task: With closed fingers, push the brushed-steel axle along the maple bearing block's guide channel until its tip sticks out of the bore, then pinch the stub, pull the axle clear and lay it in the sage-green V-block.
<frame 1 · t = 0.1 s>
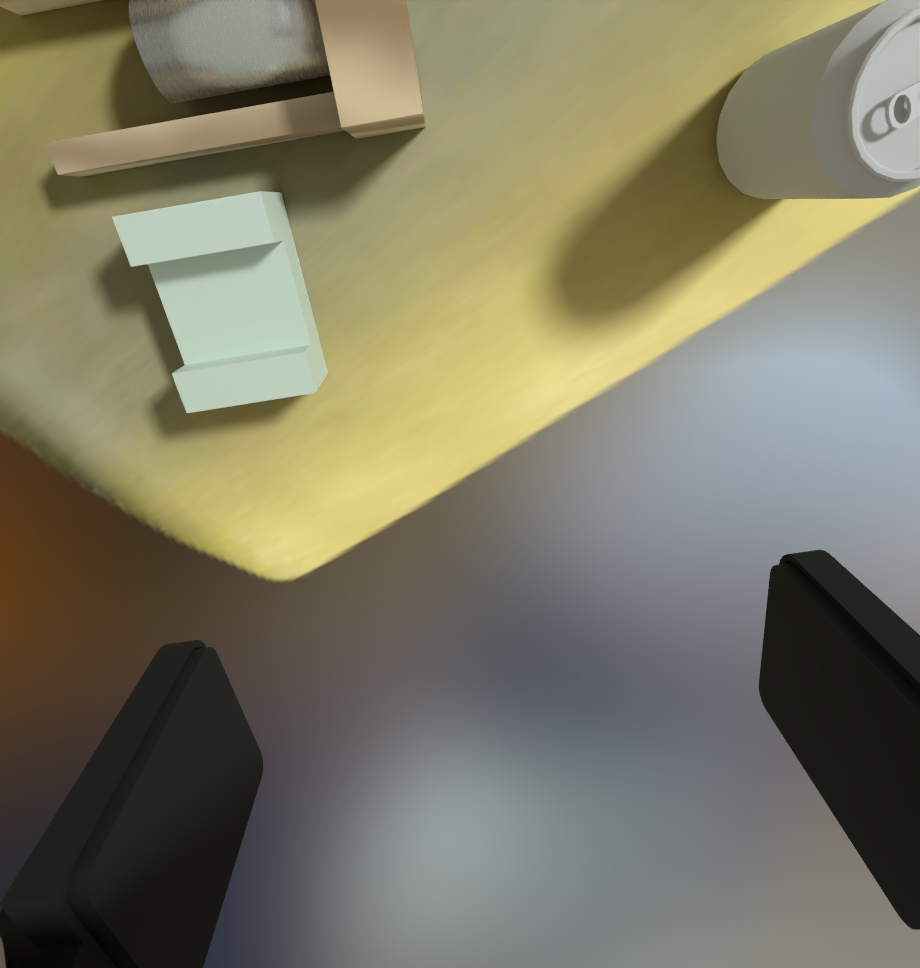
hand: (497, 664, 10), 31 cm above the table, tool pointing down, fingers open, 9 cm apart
axle: (281, 42, 31), on the table
can: (772, 128, 34), on the table
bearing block: (226, 51, 31), on the table
v block: (244, 298, 37), on the table
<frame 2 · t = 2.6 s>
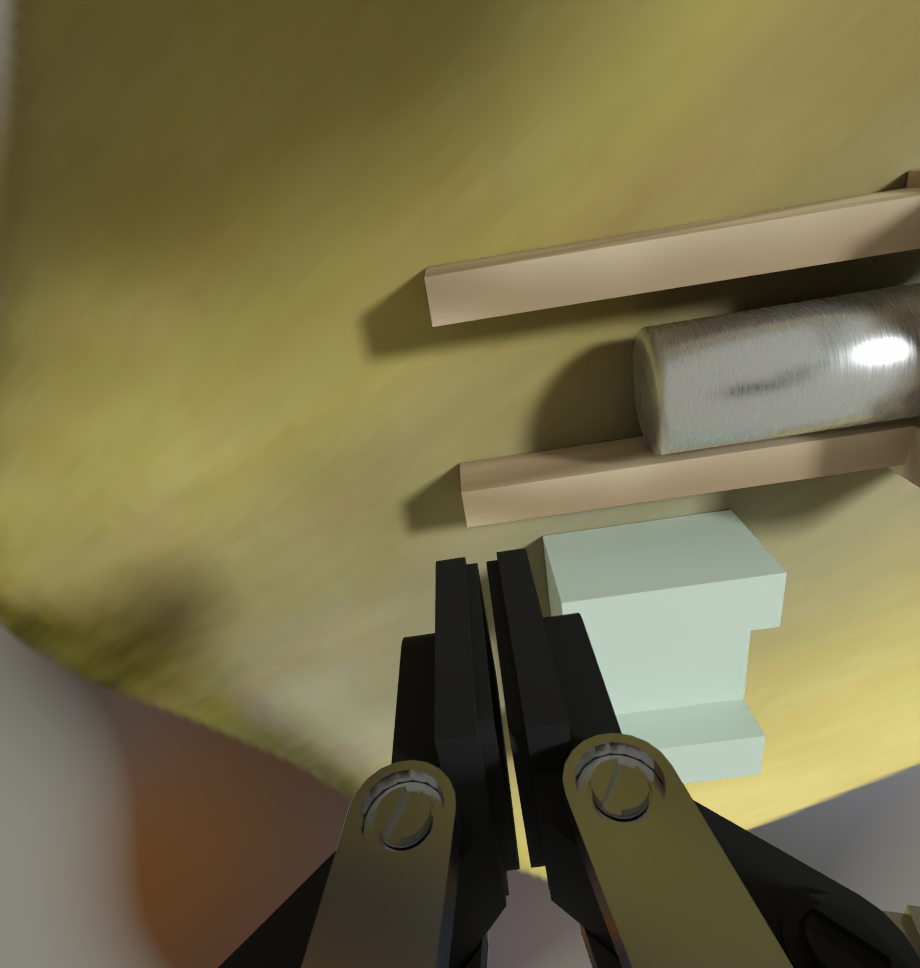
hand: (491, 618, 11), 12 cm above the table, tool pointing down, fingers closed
axle: (794, 337, 21), on the table, tilted 11°
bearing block: (715, 350, 21), on the table
v block: (637, 622, 27), on the table
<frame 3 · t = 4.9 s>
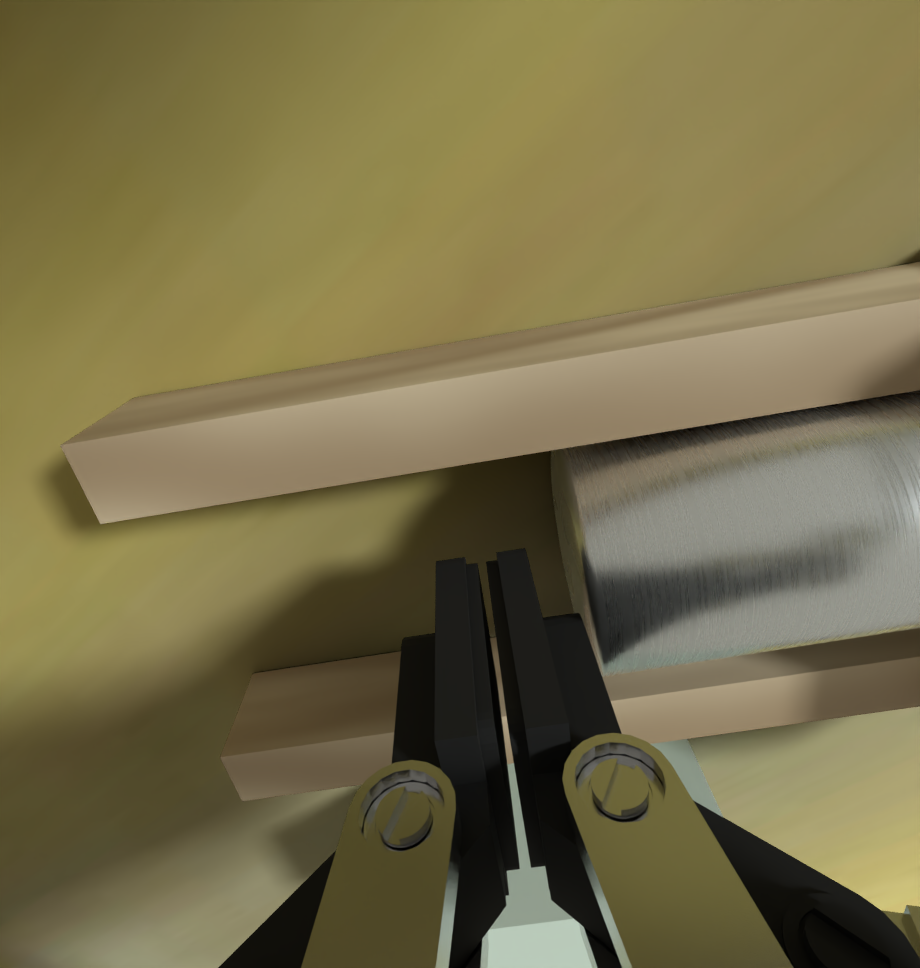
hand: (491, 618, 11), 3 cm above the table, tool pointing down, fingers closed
axle: (824, 487, 13), on the table, tilted 18°, touching gripper
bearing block: (636, 512, 13), on the table
v block: (555, 858, 19), on the table
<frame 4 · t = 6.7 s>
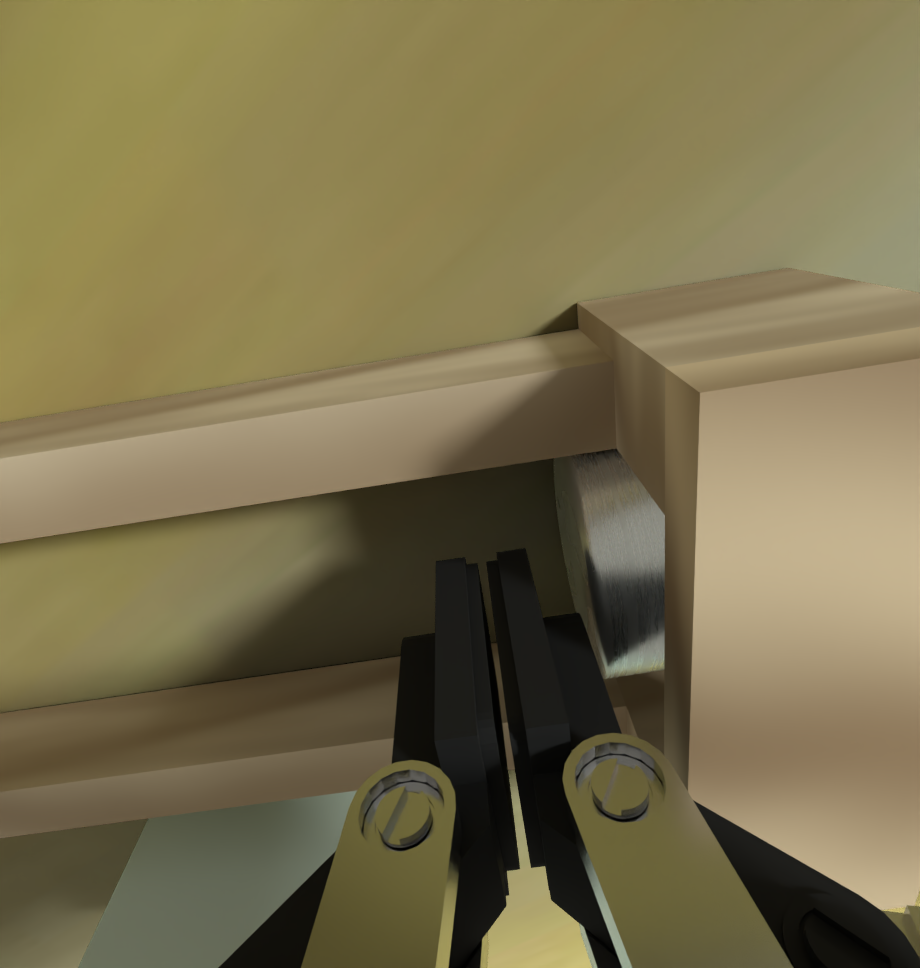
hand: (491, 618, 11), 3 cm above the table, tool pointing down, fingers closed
axle: (827, 487, 13), on the table, tilted 18°, touching gripper
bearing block: (333, 564, 13), on the table
v block: (338, 891, 19), on the table
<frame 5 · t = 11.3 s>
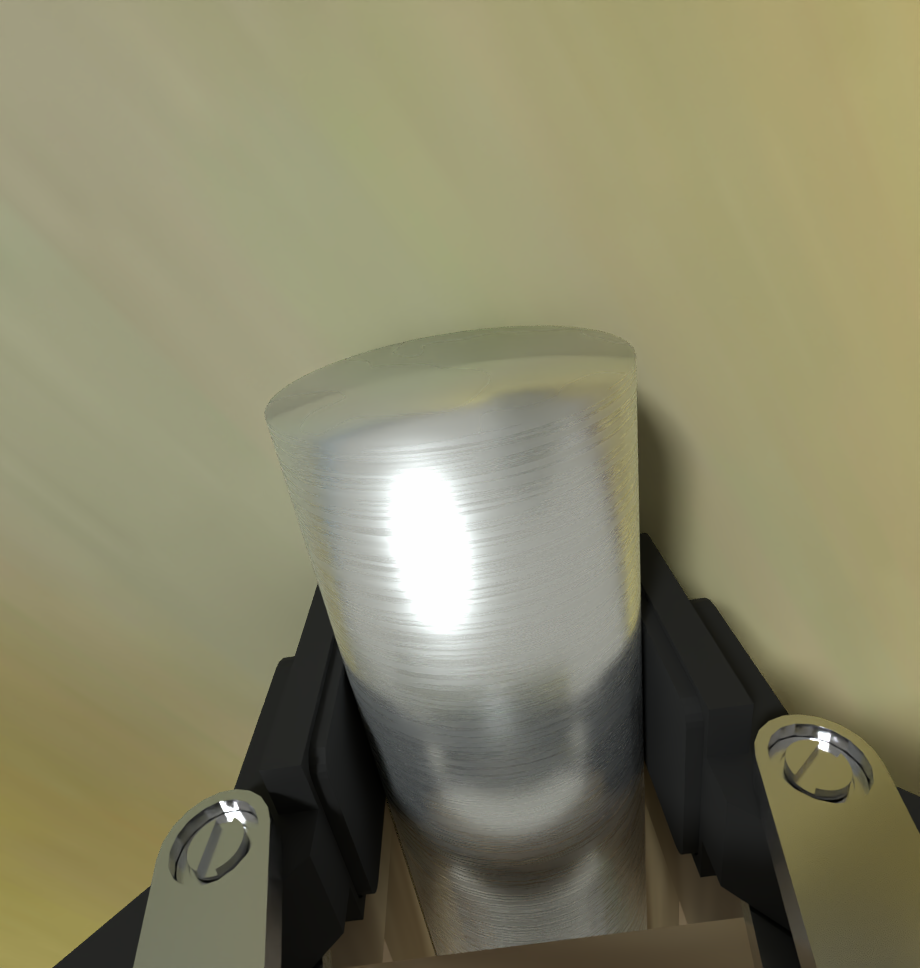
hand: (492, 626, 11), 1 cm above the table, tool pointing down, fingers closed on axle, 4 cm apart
axle: (481, 634, 12), on the table, tilted 6°, touching gripper
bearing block: (538, 939, 17), on the table
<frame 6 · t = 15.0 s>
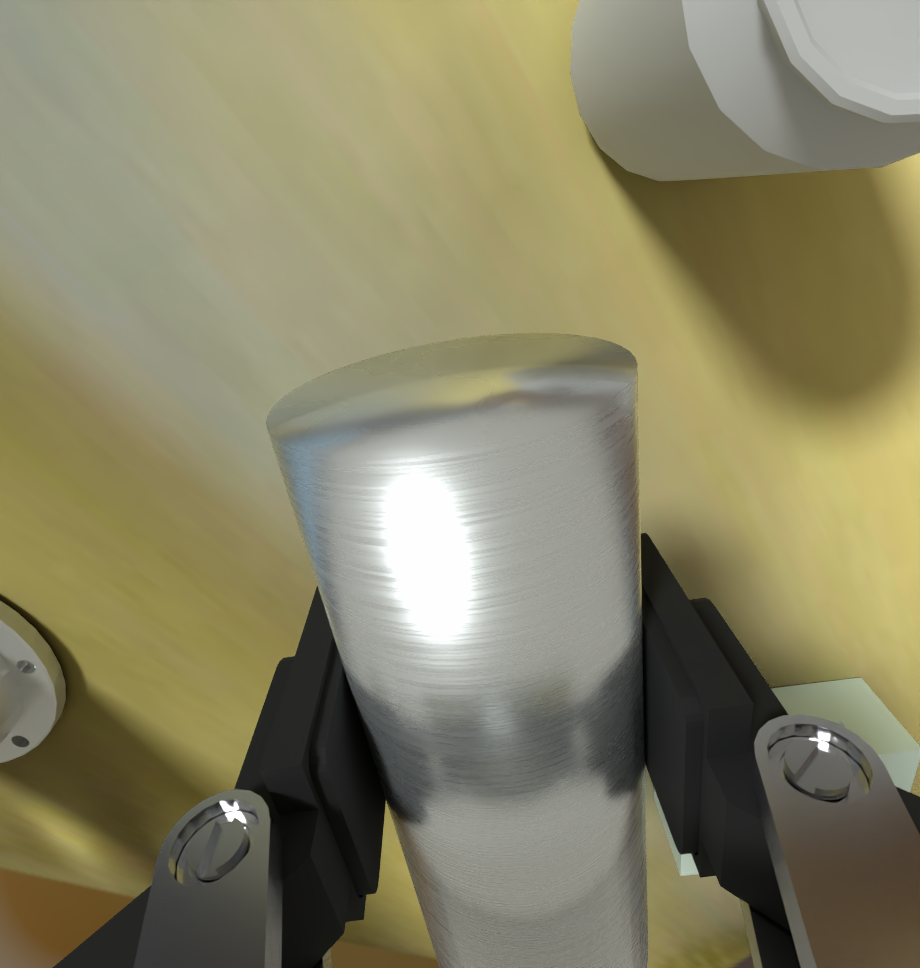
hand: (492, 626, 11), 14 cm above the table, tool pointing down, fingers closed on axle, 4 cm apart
axle: (481, 639, 12), point 14 cm above the table, tilted 8°, touching gripper
can: (678, 52, 19), on the table
v block: (750, 741, 33), on the table
when the fingers open (5 cm above the table, at t = 18.9 s): axle drops 2 cm, resting on v block.
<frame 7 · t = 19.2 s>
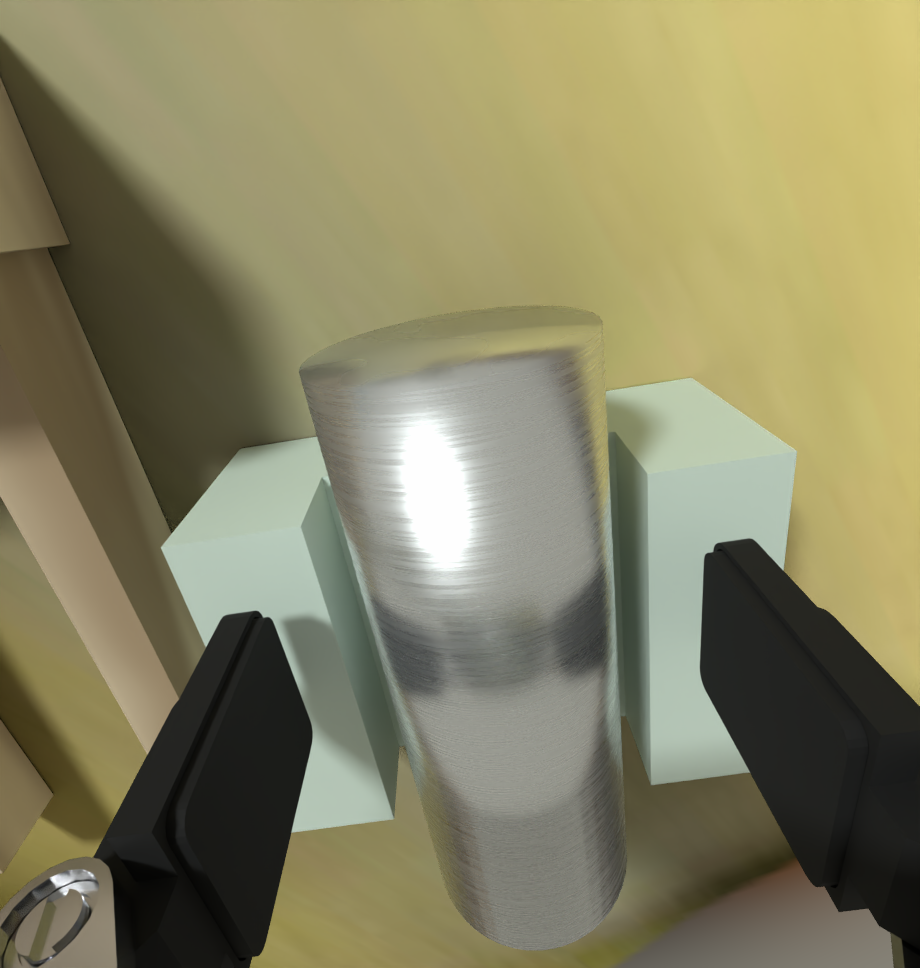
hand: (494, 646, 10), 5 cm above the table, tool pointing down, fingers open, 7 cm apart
axle: (469, 587, 13), point 3 cm above the table, tilted 12°, touching v block
v block: (484, 552, 16), on the table
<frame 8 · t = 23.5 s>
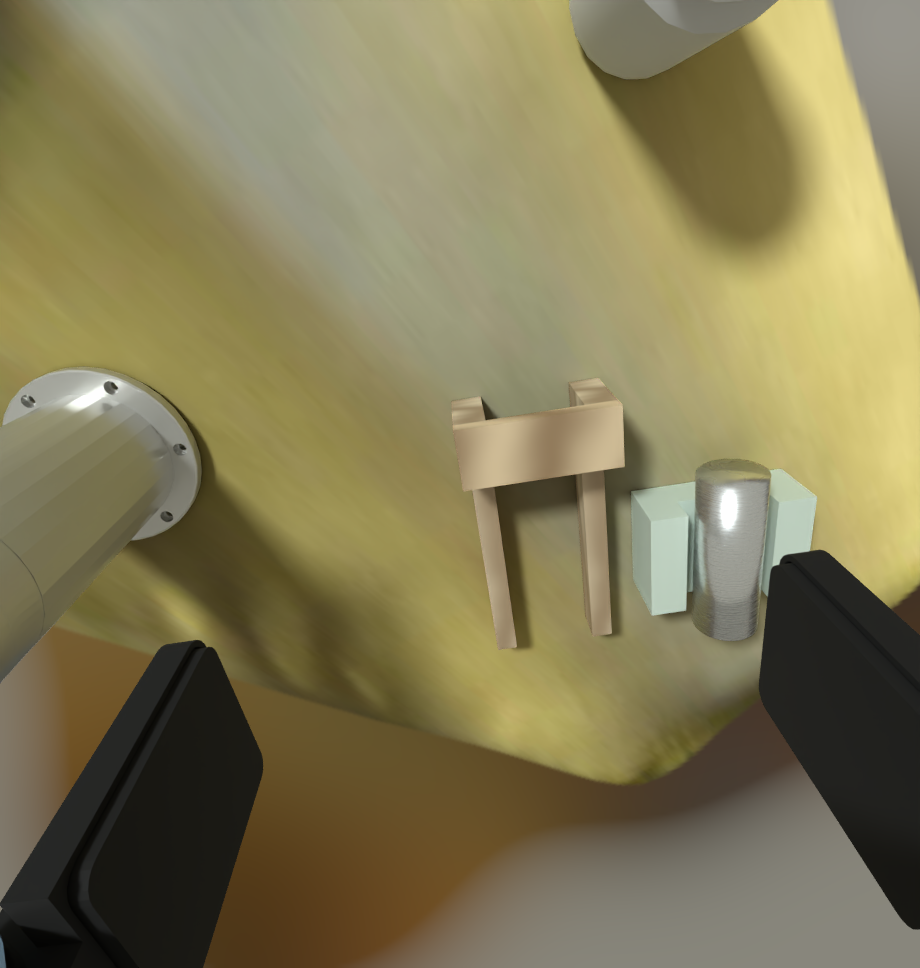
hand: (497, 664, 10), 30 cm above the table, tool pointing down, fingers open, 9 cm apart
axle: (712, 535, 42), point 2 cm above the table, touching v block
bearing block: (538, 516, 43), on the table
v block: (703, 526, 44), on the table
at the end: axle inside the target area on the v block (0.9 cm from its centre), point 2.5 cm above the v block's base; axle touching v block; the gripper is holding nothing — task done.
